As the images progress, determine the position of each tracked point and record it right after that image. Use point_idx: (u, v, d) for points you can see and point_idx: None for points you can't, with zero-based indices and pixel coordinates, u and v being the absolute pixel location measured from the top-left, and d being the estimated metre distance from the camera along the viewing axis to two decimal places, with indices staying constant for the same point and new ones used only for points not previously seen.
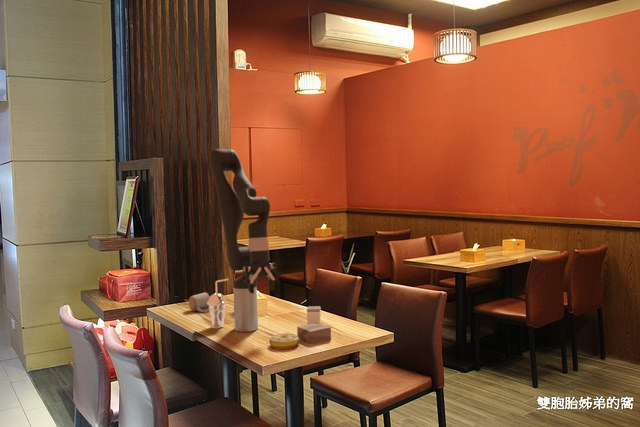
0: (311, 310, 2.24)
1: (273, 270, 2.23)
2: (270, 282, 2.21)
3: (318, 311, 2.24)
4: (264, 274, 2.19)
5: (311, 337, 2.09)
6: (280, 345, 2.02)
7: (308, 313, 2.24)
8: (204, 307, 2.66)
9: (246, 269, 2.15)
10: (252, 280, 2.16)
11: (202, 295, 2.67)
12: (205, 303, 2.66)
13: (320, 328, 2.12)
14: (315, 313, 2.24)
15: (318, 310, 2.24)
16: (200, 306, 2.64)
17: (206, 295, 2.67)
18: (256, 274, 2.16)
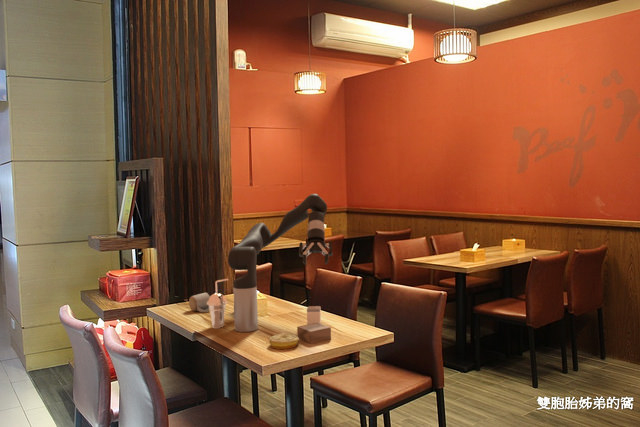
0: (311, 310, 2.24)
1: (329, 248, 2.45)
2: (325, 257, 2.42)
3: (318, 311, 2.24)
4: (318, 249, 2.44)
5: (311, 337, 2.09)
6: (280, 345, 2.02)
7: (308, 313, 2.24)
8: (204, 307, 2.66)
9: (300, 244, 2.46)
10: (305, 252, 2.43)
11: (202, 295, 2.66)
12: (205, 303, 2.65)
13: (320, 328, 2.12)
14: (315, 313, 2.24)
15: (318, 310, 2.24)
16: (200, 306, 2.64)
17: (206, 295, 2.67)
18: (309, 247, 2.44)
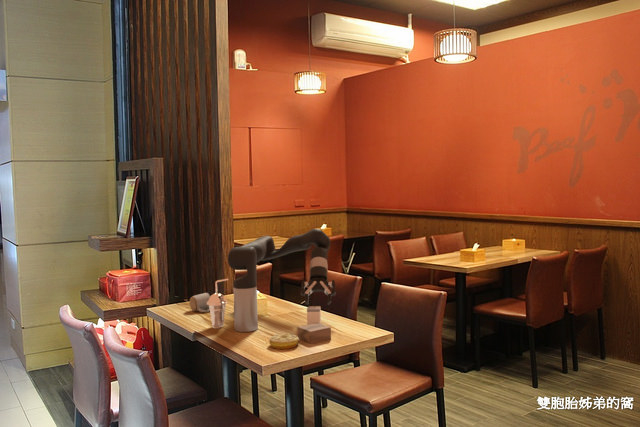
0: (311, 310, 2.24)
1: (332, 287, 2.37)
2: None
3: (318, 311, 2.24)
4: (320, 288, 2.36)
5: (311, 337, 2.09)
6: (281, 345, 2.02)
7: (308, 313, 2.24)
8: (205, 307, 2.65)
9: (302, 282, 2.38)
10: (307, 291, 2.35)
11: (203, 295, 2.66)
12: (206, 303, 2.65)
13: (320, 328, 2.12)
14: (315, 313, 2.24)
15: (318, 310, 2.24)
16: (201, 306, 2.64)
17: (207, 295, 2.67)
18: (311, 286, 2.36)
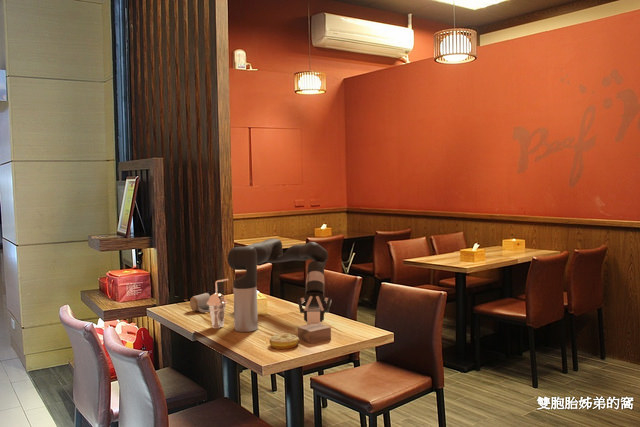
0: (311, 310, 2.24)
1: None
2: (320, 314, 2.27)
3: (318, 311, 2.24)
4: (315, 303, 2.29)
5: (311, 337, 2.09)
6: (281, 345, 2.02)
7: (308, 313, 2.24)
8: (205, 308, 2.65)
9: (298, 299, 2.31)
10: (306, 308, 2.28)
11: (203, 296, 2.65)
12: (206, 304, 2.64)
13: (320, 328, 2.12)
14: (315, 313, 2.24)
15: (318, 310, 2.24)
16: (201, 307, 2.63)
17: (207, 295, 2.66)
18: (308, 302, 2.29)
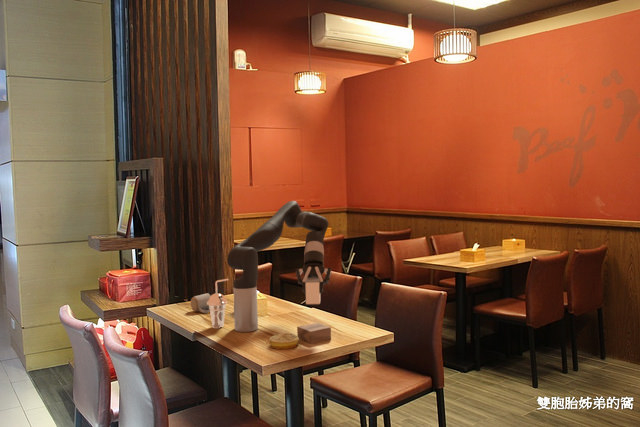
0: (310, 281, 2.11)
1: None
2: (319, 285, 2.14)
3: (317, 282, 2.11)
4: (314, 274, 2.16)
5: (311, 337, 2.09)
6: (281, 345, 2.02)
7: (307, 284, 2.12)
8: (206, 308, 2.64)
9: (296, 270, 2.18)
10: (304, 279, 2.15)
11: (204, 296, 2.65)
12: None
13: (320, 328, 2.12)
14: (314, 284, 2.11)
15: (317, 281, 2.11)
16: (202, 307, 2.62)
17: (208, 296, 2.65)
18: (307, 273, 2.16)
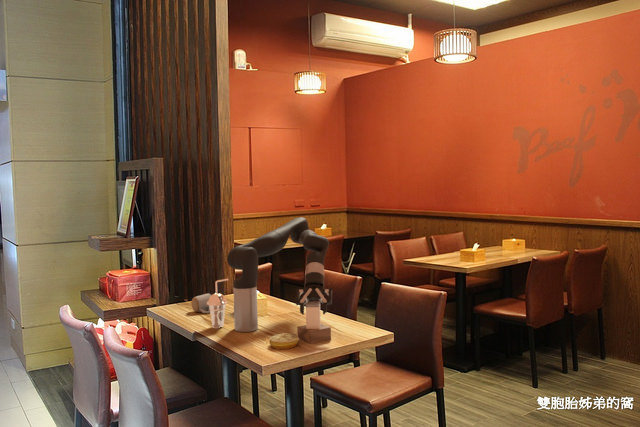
0: (310, 305, 2.12)
1: None
2: (323, 305, 2.15)
3: (317, 306, 2.12)
4: (316, 296, 2.17)
5: (311, 337, 2.09)
6: (281, 345, 2.02)
7: (307, 309, 2.12)
8: (207, 308, 2.64)
9: (296, 290, 2.19)
10: (302, 300, 2.16)
11: (205, 296, 2.64)
12: None
13: (320, 328, 2.12)
14: (314, 309, 2.12)
15: (317, 305, 2.12)
16: (203, 307, 2.62)
17: (209, 296, 2.65)
18: (306, 294, 2.17)
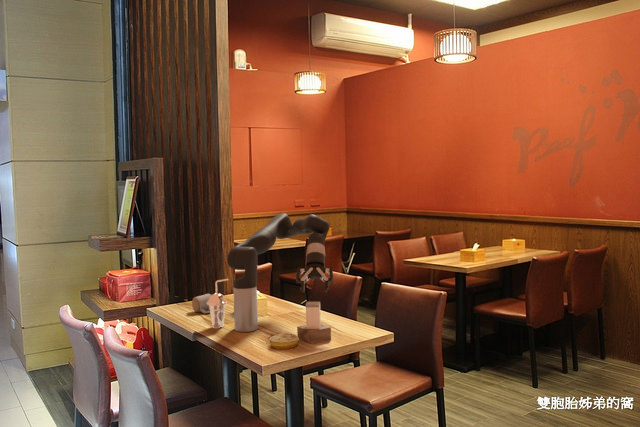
0: (310, 305, 2.12)
1: None
2: None
3: (317, 306, 2.12)
4: (317, 275, 2.23)
5: (311, 337, 2.09)
6: (281, 345, 2.02)
7: (307, 309, 2.12)
8: (207, 308, 2.63)
9: (298, 269, 2.25)
10: (303, 278, 2.22)
11: (205, 296, 2.64)
12: None
13: (320, 328, 2.12)
14: (314, 309, 2.12)
15: (317, 305, 2.12)
16: (203, 307, 2.61)
17: (209, 296, 2.64)
18: (307, 273, 2.23)
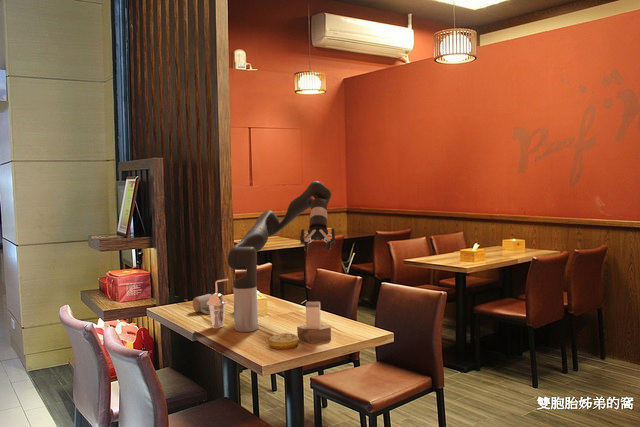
0: (310, 305, 2.12)
1: None
2: (327, 244, 2.33)
3: (317, 306, 2.12)
4: (320, 236, 2.35)
5: (311, 337, 2.09)
6: (281, 345, 2.02)
7: (307, 309, 2.12)
8: (208, 309, 2.63)
9: (302, 231, 2.37)
10: (306, 239, 2.34)
11: (206, 296, 2.63)
12: None
13: (320, 328, 2.12)
14: (314, 309, 2.12)
15: (317, 305, 2.12)
16: (204, 308, 2.61)
17: None
18: (310, 234, 2.35)
